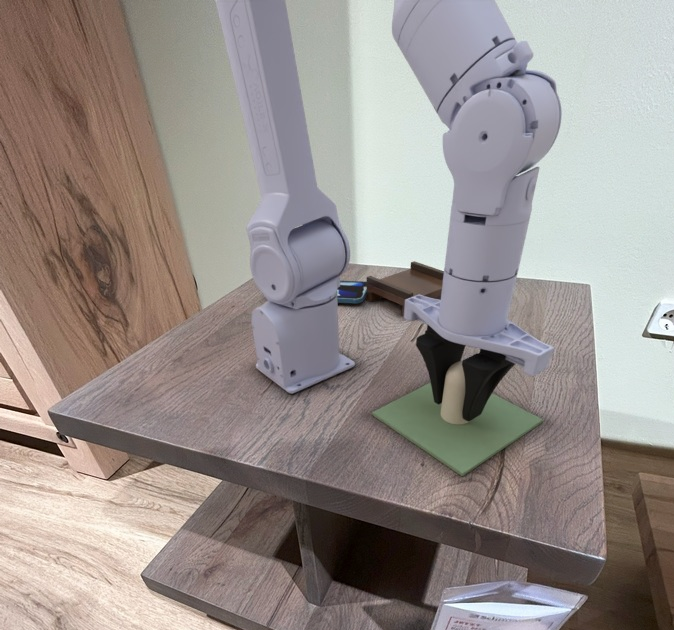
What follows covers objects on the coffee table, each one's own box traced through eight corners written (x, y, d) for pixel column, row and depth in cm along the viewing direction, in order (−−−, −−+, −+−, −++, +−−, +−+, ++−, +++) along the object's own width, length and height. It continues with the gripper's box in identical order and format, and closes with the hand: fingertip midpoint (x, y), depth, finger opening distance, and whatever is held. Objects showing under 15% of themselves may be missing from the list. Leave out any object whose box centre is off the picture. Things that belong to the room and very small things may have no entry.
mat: (462, 476, 40) (462, 473, 39) (371, 415, 47) (372, 412, 47) (542, 422, 45) (543, 419, 45) (450, 374, 52) (450, 371, 52)
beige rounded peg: (458, 429, 44) (467, 375, 40) (433, 414, 46) (440, 362, 42) (479, 416, 46) (490, 363, 42) (454, 402, 48) (463, 351, 44)
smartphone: (283, 278, 75) (371, 281, 72) (284, 283, 76) (371, 287, 73) (267, 295, 70) (361, 299, 67) (268, 301, 71) (361, 305, 67)
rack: (407, 318, 64) (409, 294, 62) (366, 299, 70) (366, 276, 67) (455, 299, 69) (458, 275, 66) (412, 283, 74) (414, 260, 72)
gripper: (594, 280, 34) (546, 425, 42) (445, 239, 42) (431, 366, 51) (538, 307, 30) (498, 457, 39) (390, 256, 39) (385, 388, 48)
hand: (457, 407), depth 45 cm, fingers closed on beige rounded peg, 3 cm apart
